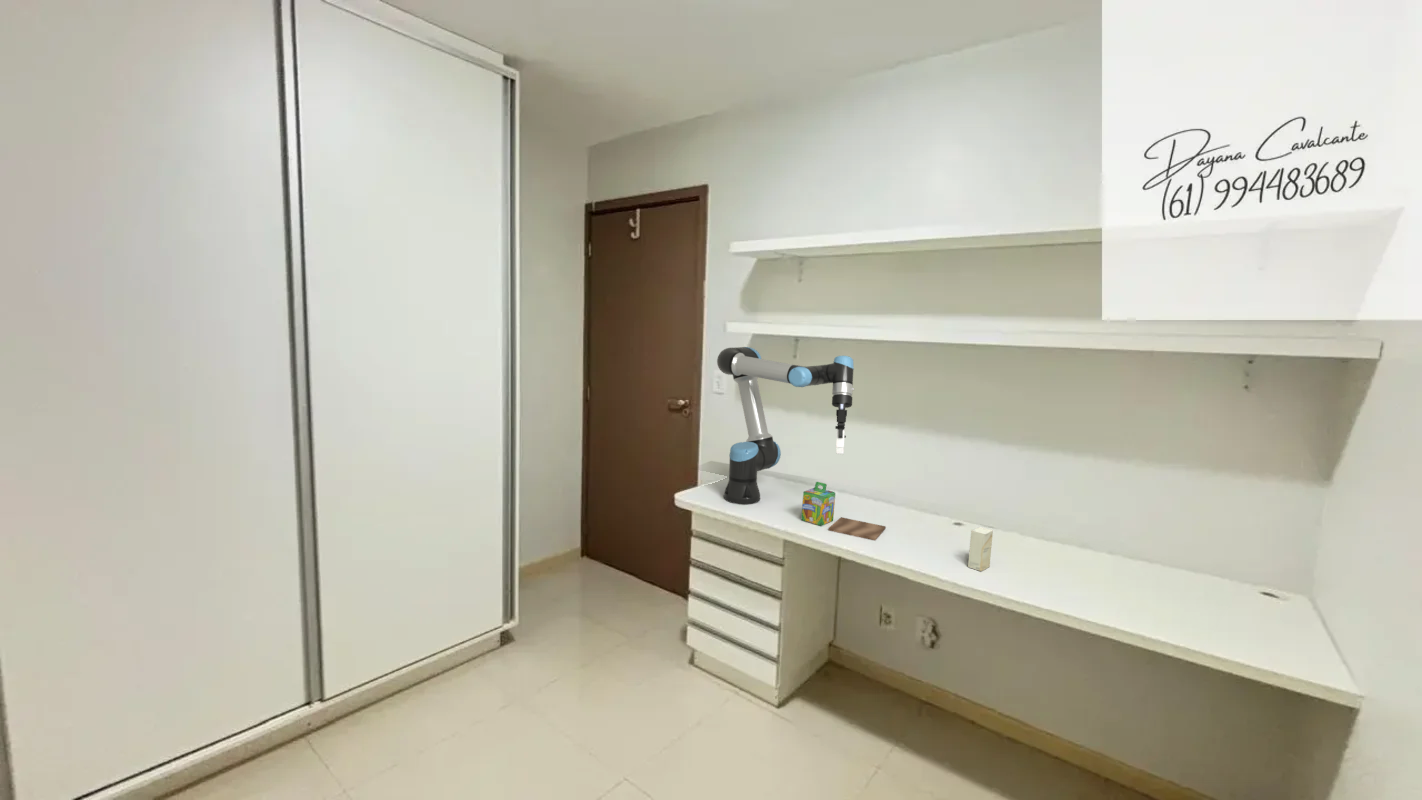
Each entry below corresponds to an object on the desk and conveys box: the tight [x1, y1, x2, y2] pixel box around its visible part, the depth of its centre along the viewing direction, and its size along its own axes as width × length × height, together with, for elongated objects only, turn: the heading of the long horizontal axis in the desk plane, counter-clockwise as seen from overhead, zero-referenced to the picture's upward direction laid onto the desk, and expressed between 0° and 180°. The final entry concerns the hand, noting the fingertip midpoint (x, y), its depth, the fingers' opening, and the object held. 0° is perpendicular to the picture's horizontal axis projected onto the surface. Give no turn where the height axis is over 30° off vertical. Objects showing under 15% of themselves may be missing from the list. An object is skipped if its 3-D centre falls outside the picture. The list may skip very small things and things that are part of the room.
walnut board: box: [828, 516, 887, 541], centre depth 215 cm, size 17×14×1 cm
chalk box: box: [800, 481, 836, 527], centre depth 222 cm, size 9×9×15 cm
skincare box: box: [967, 526, 994, 572], centre depth 184 cm, size 6×4×12 cm
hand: (839, 450), depth 219 cm, fingers open, 13 cm apart
